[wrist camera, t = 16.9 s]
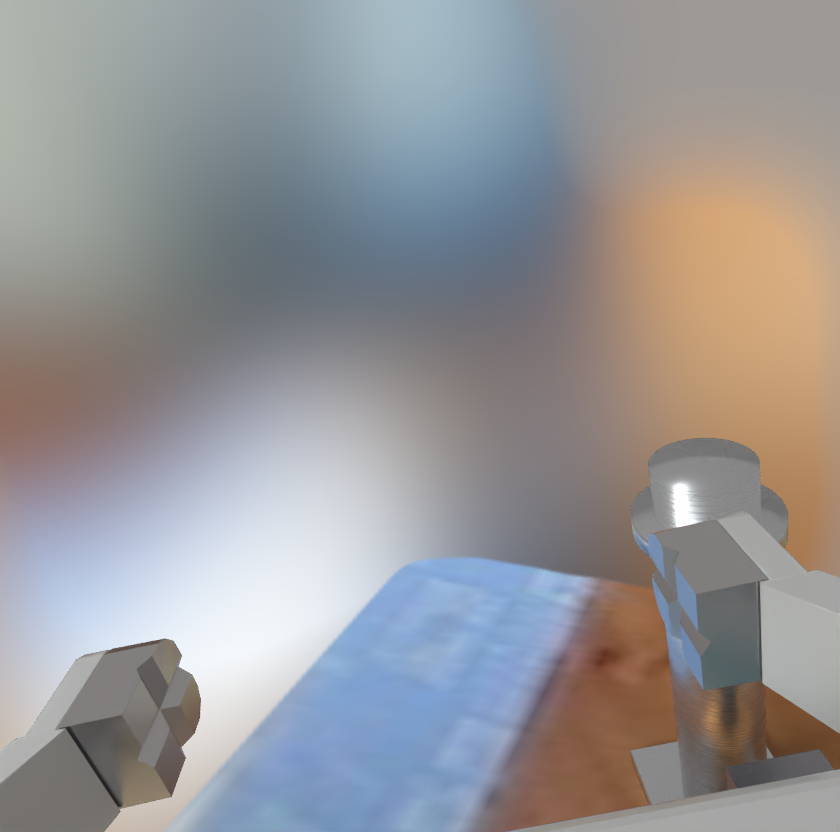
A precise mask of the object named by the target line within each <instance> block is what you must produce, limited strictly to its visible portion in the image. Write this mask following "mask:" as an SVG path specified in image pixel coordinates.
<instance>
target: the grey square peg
mask: <svg viewBox="0 0 840 832" xmlns="http://www.w3.org/2000/svg"><path fill="white" fill-rule="evenodd" d="M833 770H834V769H833V767H832V766H831V765H830V763H829V762H828V760H827V759H826V758H825V756H824V755H823V753H822V752H821V751H820V749H817V750H812V751H807V752H802V753H796V754H791V755H786V756H781V757H775V758H770V759H765V760H759V761H754V762H749V763H744V764H738V765H733V766H728V767H726V774H727V790H732V789H737V788H743V787H748V786H753V785H759V784H764V783H769V782H774V781H780V780H785V779H790V778H796V777H801V776H806V775H812V774H817V773H822V772H828V771H833Z"/></svg>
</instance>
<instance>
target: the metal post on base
mask: <svg viewBox="0 0 840 832" xmlns="http://www.w3.org/2000/svg"><path fill="white" fill-rule="evenodd" d="M648 466H649V476H650V484H651V485H650V486H648V487H647V488H645V489H644V490H643V491H641V492H640V493H639V494H638V495H637V497H636V498H635V499H634V501H633V503H632V506H631V521H632V529H633V535H634V538H635V540H636V542H637V544H638V545H639V547H640V548H641V549H642V550H643V551H644V552H645V553H646V554H648V555H649V546H648V538H649V533H654V532H658V531H663V530H667V529H672V528H676V527H681V526H685V525H690V524H694V523H698V522H703V521H707V520H711V518H716V517H720V516H724V515H728V514H732V513H736V512H740V511H744V512H747V513H749V514H750V515H751V516H752V517H753V518H754V519H755V520H756V521H757V522H758V523H759V524H760V525H761V526H762V527H763V528H764V529H765V530H766V531H767V532H768V533H769V534H770V535H771V536H772V537H773V538H774V539H775V540H776V541H777V542H778V543H779V544H780V545H781V546H782V547H783V548H785V546H786V543H787V540H788V512H787V508H786V506H785V504H784V502H783V501H782V499H781V498H780V497H779V496H778V495H777V494H776V493H774V492H773V491H771V490H770V489H769V488H767V487H765V486H763V485H761V484H760V461H759V458H758V456H757V455H756V454H755V452H754V451H752V450H751V449H749V448H748V447H746V446H744V445H742V444H739V443H736V442H733V441H729V440H723V439H715V438H695V439H687V440H682V441H678V442H674V443H671V444H668V445H666V446H664V447H662V448H660V449H659V450H657V451H656V452H655V453H654V454H653V455H652V456H651V457H650V459H649V463H648ZM649 556H650V555H649ZM650 557H651V556H650ZM665 627H666V636H667V646H668V655H669V664H670V674H671V683H672V693H673V702H674V712H675V721H676V730H677V740H678V741H677V742H672V743H667V744H662V745H656V746H651V747H646V748H641V749H636V750H631V757H632V762H633V765H634V767H635V770H636V772H637V775H638V778H639V780H640V783H641V785H642V788H643V790H644V793H645V796H646V798H647V801H648V803H649V805H652V804H658V803H663V802H668V801H674V800H679V799H684V798H690V797H695V796H700V795H706V794H711V793H716V792H721V791H727V774H726V767H728V766H733V765H738V764H744V763H749V762H754V761H759V760H765V759H770V758H774V757H773V756H772V754H771V753H770V751H769V749H768V748H767V739H766V698H765V685H764V684H763V683H762V681H757V682H751V683H745V684H739V685H733V686H727V687H721V688H716V689H710V690H703V689H702V687H701V685H700V684H699V682H698V680H697V678H696V677H695V675H694V673H693V672H692V670H691V668H690V666H689V665H688V663H687V661H686V660H685V658H684V656H683V646H682V640H680V639H678V638H676V637H674V636H673V635H671V633H670V632H669V630H668V628H667V626H666V624H665Z"/></svg>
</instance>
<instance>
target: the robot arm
mask: <svg viewBox="0 0 840 832" xmlns="http://www.w3.org/2000/svg"><path fill="white" fill-rule="evenodd" d="M648 546H649V555H650V556H651V558H652V560H653V561H654V563H655V564H656V566H657V569H656V571H655V573H654V574H653V576H652V581H653V588H654V594H655V597H656V601H657V604H658V608H659V611H660V613H661V616H662V618H663V620H664V623H665V624H666V626H667V628H668V630H669V632H670V633H671V635H673V636H674V637H676V638H678V639H680V640H682V646H683V656H684V658H685V660H686V661H687V663H688V665H689V666H690V668H691V670H692V672H693V673H694V675H695V677H696V678H697V680H698V682H699V684H700V685H701V687H702V689H703V690H710V689H716V688H721V687H727V686H733V685H739V684H745V683H751V682H757V681H762V683H763V684H764V685H766V686H767V687H769V688H770V689H772V690H773V691H775V692H777V693H778V694H780V695H781V696H783V697H784V698H786V699H787V700H789V701H790V702H792V703H793V704H795V705H797V706H798V707H800V708H801V709H803V710H804V711H806V712H807V713H809V714H810V715H812V716H813V717H815V718H816V719H818V720H820V721H821V722H823V723H824V724H826V725H827V726H829V727H830V728H832V729H833V730H835V731H836V732H838V733H840V578H839V577H836V576H834V575H831V574H828V573H825V572H822V571H820V570H815V571H810V572H808V571H807V570H806V569H804V567H803V566H802V565H801V564H800V563H798V562H797V561H796V560H795V559H794V558H793V557H792V556H791V555H790V554H789V553H788V552H787V551H786V550H785V549H784V548H783V547H782V546H781V545H780V544H779V543H778V542H777V541H776V540H775V539H774V538H773V537H772V536H771V535H770V534H769V533H768V532H767V531H766V530H765V529H764V528H763V527H762V526H761V525H760V524H759V523H758V522H757V521H756V520H755V519H754V518H753V517H752V516H751V515H750V514H749V513H747V512H744V511H740V512H736V513H732V514H728V515H724V516H720V517H716V518H711V520H707V521H703V522H698V523H694V524H690V525H685V526H681V527H676V528H672V529H667V530H663V531H658V532H654V533H649V538H648ZM181 657H182V655H181V653H180V651H179V649H178V648H177V646H176V644H175V643H174V641H172V640H168V639H161V640H155V641H150V642H145V643H140V644H135V645H130V646H125V647H119V648H114V649H111V650H105V651H101V652H96V653H91V654H86V655H84V656H82V657H80V658H79V659H77V660H75V662H74V663H73V665H72V666H71V668H70V669H69V671H68V673H67V674H66V675H65V677H64V679H63V680H62V681H61V683H60V684H59V686H58V687H57V689H56V691H55V692H54V694H53V695H52V697H51V698H50V700H49V701H48V703H47V704H46V706H45V707H44V709H43V710H42V712H41V713H40V715H39V716H38V718H37V719H36V721H35V722H34V724H33V726H32V727H31V728H30V730H29V731H28V733H27V734H26V736H25V737H21V738H16V739H15V740H14V741H12V742H11V743H10V744H9V745H7V746H6V747H5V748H4V749H3V750H1V751H0V832H104V831H105V830H106V829H107V828H108V827H109V825H110V824H111V823H112V822H113V820H114V819H115V818H116V817H117V815H118V814H119V813H120V809H121V808H126V807H130V806H134V805H139V804H143V803H147V802H151V801H156V800H160V799H164V798H169V797H172V794H173V791H174V788H175V786H176V783H177V780H178V778H179V775H180V772H181V769H182V767H183V764H184V761H185V758H186V757H185V755H184V753H183V750H182V748H181V747H182V746H183V745H184V744H185V743H186V742H187V741H188V740H189V739H190V738H191V737H192V735H193V734H194V733H195V730H196V728H197V725H198V722H199V719H200V703H201V698H200V694H199V690H198V685H197V683H196V682H195V679H194V677H193V676H192V674H190V673H188V672H187V671H185V670H183V669H181V668H180V667H179V663H180V660H181ZM509 832H840V769H838V770H833V771H828V772H822V773H817V774H812V775H806V776H801V777H796V778H790V779H785V780H780V781H774V782H769V783H764V784H759V785H753V786H748V787H743V788H737V789H732V790H727V791H721V792H716V793H711V794H706V795H700V796H695V797H690V798H684V799H679V800H674V801H668V802H663V803H658V804H652V805H647V806H642V807H636V808H631V809H626V810H621V811H615V812H610V813H605V814H599V815H594V816H589V817H583V818H578V819H573V820H567V821H562V822H557V823H551V824H546V825H541V826H536V827H530V828H525V829H520V830H514V831H509Z"/></svg>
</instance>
